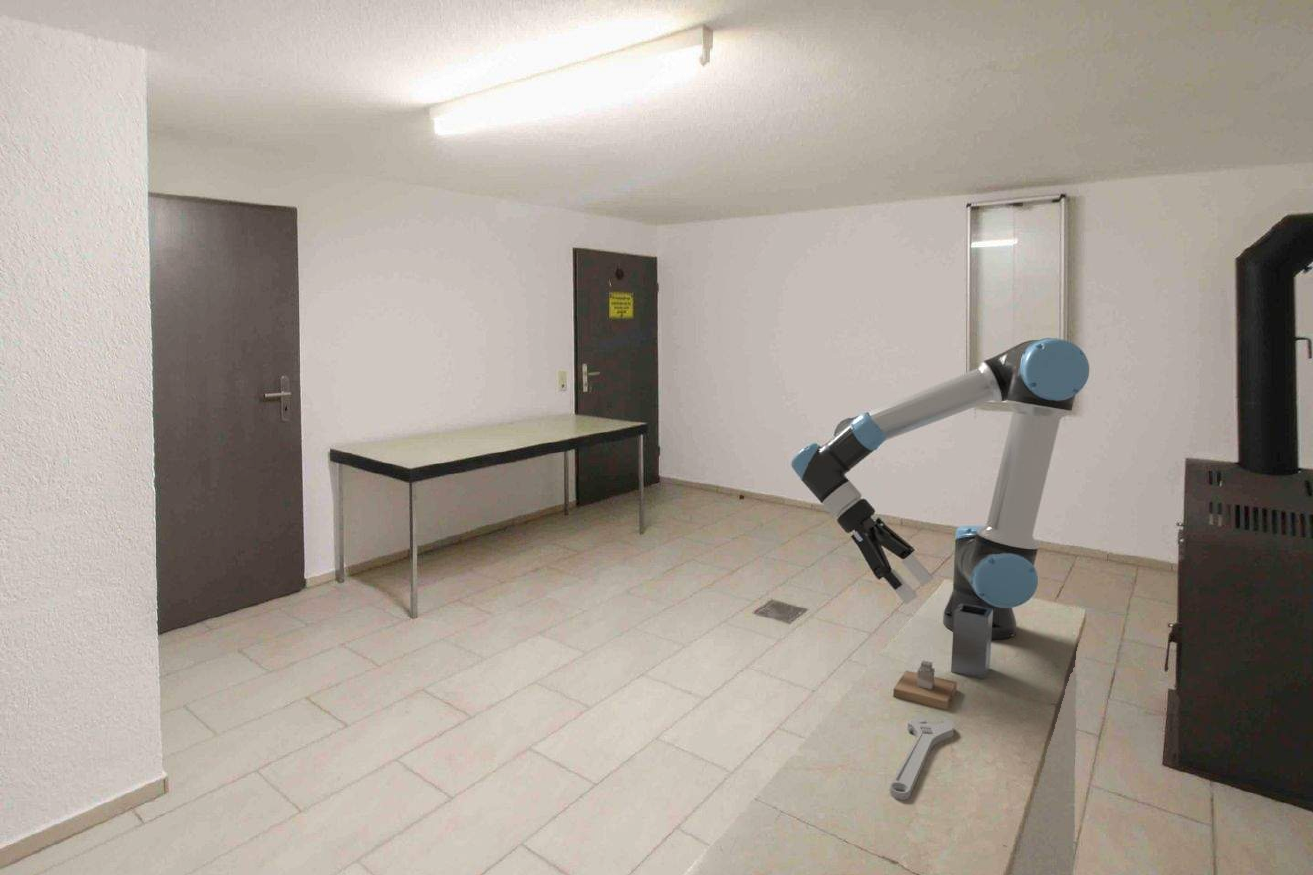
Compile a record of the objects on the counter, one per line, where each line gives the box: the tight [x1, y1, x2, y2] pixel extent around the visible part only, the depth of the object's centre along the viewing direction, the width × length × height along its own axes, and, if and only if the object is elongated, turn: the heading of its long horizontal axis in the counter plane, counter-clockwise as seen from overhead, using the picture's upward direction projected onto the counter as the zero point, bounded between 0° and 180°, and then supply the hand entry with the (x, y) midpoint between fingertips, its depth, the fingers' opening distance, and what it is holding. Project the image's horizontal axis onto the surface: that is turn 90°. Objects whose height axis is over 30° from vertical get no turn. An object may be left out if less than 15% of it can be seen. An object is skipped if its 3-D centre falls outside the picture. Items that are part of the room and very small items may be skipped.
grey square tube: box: [950, 603, 993, 680], centre depth 140 cm, size 6×6×12 cm
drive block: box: [892, 659, 958, 711], centre depth 130 cm, size 9×9×6 cm
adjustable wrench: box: [889, 713, 955, 801], centre depth 110 cm, size 25×6×2 cm, turn 143°
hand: (920, 591), depth 144 cm, fingers open, 13 cm apart
